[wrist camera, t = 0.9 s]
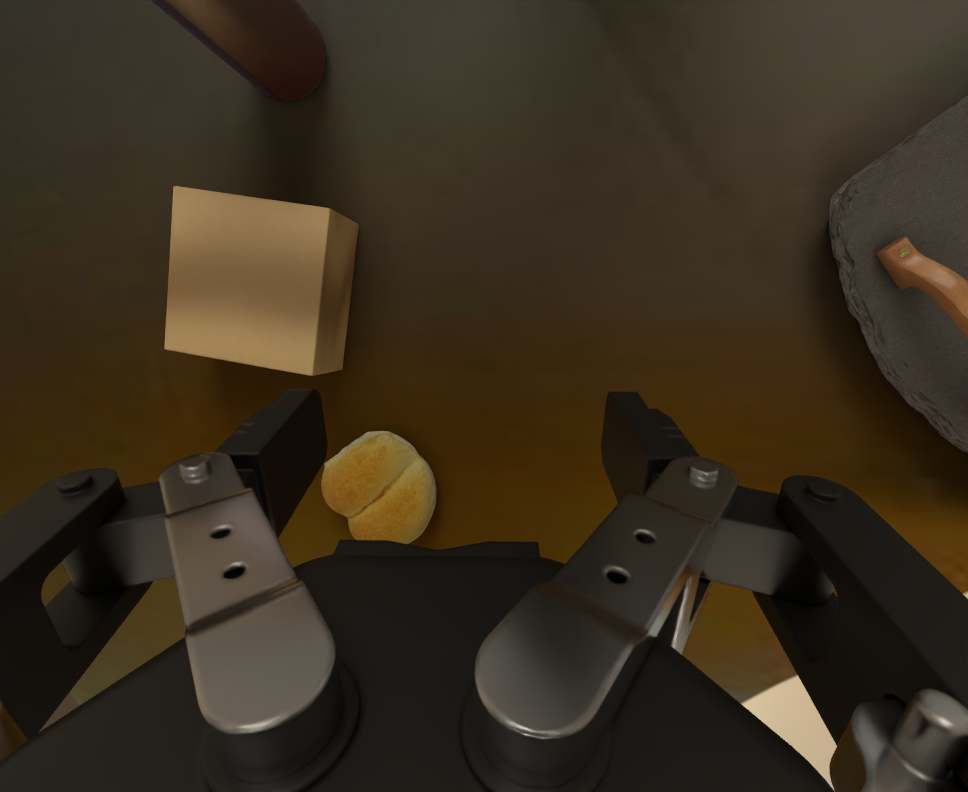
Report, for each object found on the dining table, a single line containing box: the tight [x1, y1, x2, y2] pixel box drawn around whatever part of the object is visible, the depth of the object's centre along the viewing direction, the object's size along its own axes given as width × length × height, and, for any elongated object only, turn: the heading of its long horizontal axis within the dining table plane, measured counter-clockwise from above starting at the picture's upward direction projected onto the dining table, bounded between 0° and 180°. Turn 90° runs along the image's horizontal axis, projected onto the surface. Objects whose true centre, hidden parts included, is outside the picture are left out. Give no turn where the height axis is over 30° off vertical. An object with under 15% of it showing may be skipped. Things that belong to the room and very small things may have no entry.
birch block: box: [165, 186, 359, 376], centre depth 35 cm, size 11×11×5 cm
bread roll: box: [321, 431, 437, 544], centre depth 36 cm, size 8×9×4 cm
